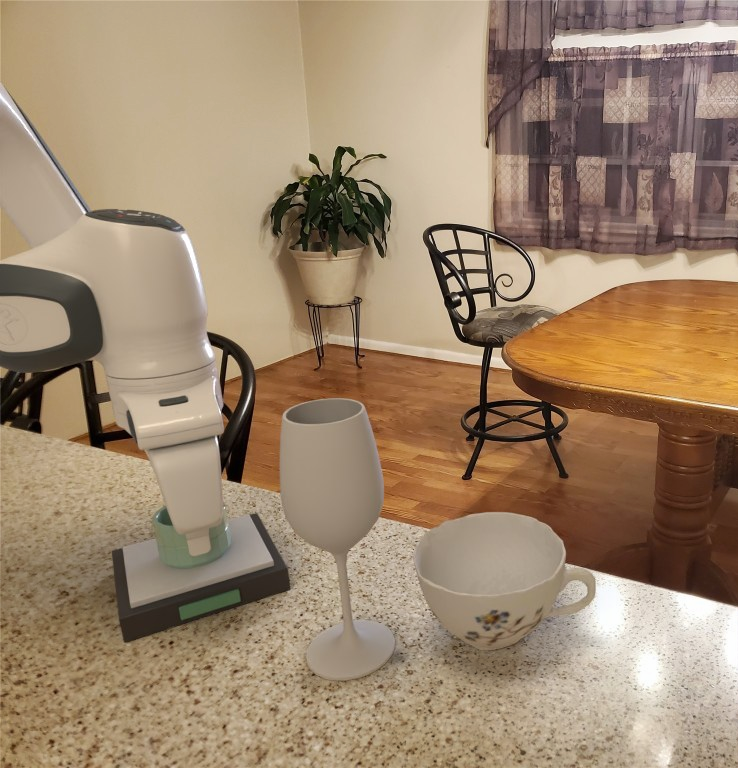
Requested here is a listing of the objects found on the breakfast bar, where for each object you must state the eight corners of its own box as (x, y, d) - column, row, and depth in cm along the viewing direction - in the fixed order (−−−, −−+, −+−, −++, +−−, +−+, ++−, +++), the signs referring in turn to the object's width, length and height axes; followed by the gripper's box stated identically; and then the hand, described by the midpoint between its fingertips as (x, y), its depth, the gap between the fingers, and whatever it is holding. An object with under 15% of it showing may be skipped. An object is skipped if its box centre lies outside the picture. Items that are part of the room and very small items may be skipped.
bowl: (164, 578, 62) (155, 534, 61) (157, 548, 67) (149, 507, 66) (237, 558, 65) (230, 515, 64) (225, 530, 70) (218, 490, 69)
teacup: (396, 669, 54) (388, 582, 52) (445, 580, 66) (440, 505, 64) (585, 696, 51) (586, 604, 49) (601, 597, 63) (603, 519, 60)
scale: (124, 645, 58) (117, 614, 57) (116, 571, 69) (110, 545, 68) (291, 591, 65) (287, 563, 64) (260, 532, 76) (256, 507, 75)
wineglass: (283, 668, 55) (246, 422, 48) (340, 613, 61) (314, 390, 55) (363, 692, 52) (335, 435, 46) (414, 632, 59) (395, 400, 52)
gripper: (121, 375, 68) (147, 500, 72) (137, 438, 52) (169, 596, 56) (189, 364, 71) (210, 485, 75) (225, 421, 55) (250, 571, 59)
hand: (193, 533), depth 65 cm, fingers closed on bowl, 6 cm apart
